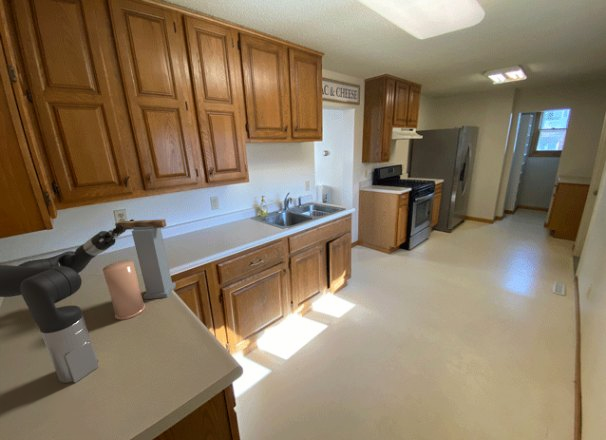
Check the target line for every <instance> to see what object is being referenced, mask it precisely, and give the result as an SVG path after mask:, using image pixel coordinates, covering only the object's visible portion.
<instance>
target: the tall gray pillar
mask: <svg viewBox="0 0 606 440" xmlns="http://www.w3.org/2000/svg"><path fill="white" fill-rule="evenodd" d="M131 234H132V239H133V242H134V246H135V251H136V255H137V259H138V263H139V268H140V271H141V276H142V279H143V280H142V281H143V283H144V288H145V291H146V292H145V293H144V294H143V295H142V297H143V298H144V299H143V300H149V299H150V300H152V299H163V298H168V297H169V296H170V294H171V293H172V292H173V290H174V289H175V288H176V286H177V285H176V281H174V282H173V280H172V276H171V270H170V267H169V261H168V257H167V252H166V251H167V250H166V247H165V243H164V239H163V238H164V237H163V233H162V228H153V226H148V227H134V228H133V229H132V230H131Z"/></svg>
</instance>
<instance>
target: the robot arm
mask: <svg viewBox="0 0 606 440" xmlns="http://www.w3.org/2000/svg"><path fill="white" fill-rule="evenodd" d="M129 221H135V219H134V218H133V219H130V220H129ZM123 229H124V227H123V226H122V225H119V226H117V227H116V226H115V228H112V229H110V230H108V231H107V230H101V231H99V232H98V233H96V234H95V235H94V236H92V237H91V238H89V239H88V240H86V241H85V243H83V244H82V245H80V246H79V247H77V248H76V249H75V251H74V250H68V251H65V252H63V253H60V254H57V255H54V256H50V257H48V258H41V259H33V260H28V261H24V262H23V263H20V264H18V265H11V264H10V265H9V264H0V298H9V297H10V298H12V297H18V296H22V298H23V301H24V302H25V304H26V306H27V308H28V310H29V312H30V314H31V317H32V319H33V321H34V323H35V324H36V326H37V327H38V329H39V332H40V334H41V337H42V340H43V342H44V346H45V347H46V350H47V352H48V355H49V358H50V361H51V362H52V363H51V364H53V365H52V366H53V367H54V370H55V373H56V375H57V377H58V381H59V382H61V383H65V384H66V383H68V384H69V383H77V382H79V381H80V380H81V379H83V378H84V377H86V376H88V375H89V374H90V373H92V372H93V371H95V370H96V369H98V368H99V364H98V363H99V360H98V357H97V354H96V351H95V348H94V345H93V342H92V340H91V336H90V333H89V330H88V326H87V324H86V321H85V317H84V315H83V311H82V308H80V306H79V305H65V306H60V307H56V305H55V304H57V303H59V302H60V301H63V300H65V299H66V298H69V297H71V296H72V295H74V294H76V292H78V291H79V290H80V289H81V286H82V284H83V283H82V282H83V281H82V277H81V275H80V274H79V273H81V272H82V271H83V270H84V269H86V267H87V266H88V265H89V263H90V262H91V261H92V260H93V259H95V257H97V256H99V255H100V254H102V253H103V252H105V251H107V250H108V249H109V248H111V247H112V246H114V245H115V244H116V239H117V238H119V237H120V236H121V235H122V234H124V233H125V232H126V231H127V230H123Z"/></svg>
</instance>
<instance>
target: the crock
mask: <svg viewBox="0 0 606 440" xmlns="http://www.w3.org/2000/svg"><path fill="white" fill-rule="evenodd" d="M102 272H103V275H104V279H105V283H106V286H107V289H108V293H109V296H110V300H111V303H112V308H113V311H114V317H115V319H116V320H120V321H123V320H124V321H125V320H129V319H133V318H135V317H137V316H139V315H141V314H142V313H144V311H145V310H146V304H145V302H144V299H143V295H142V292H141V291H142V290H141V287H140V283H139V280H138V275H137V272H136V268H135V262H134V261H133V260H128V259H127V260H120V261H119V260H118V261H116V262H112V263H109V264H107V265H106V266H104V267H103V268H102Z"/></svg>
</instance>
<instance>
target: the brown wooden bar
mask: <svg viewBox="0 0 606 440" xmlns="http://www.w3.org/2000/svg"><path fill="white" fill-rule="evenodd" d="M114 225H115V228H116V227H117V226H119V225H122V226H123V227H124V229H123V230H126V231H127V230H129V231H130V230H133V228H134V227H148V226H153V228H161V229H163V228H165V227H167V222H166V219H165V218H164V219H162V218H161V219H148V220H147V219H145V220H143V219H141V220H134V221H130V220H124V221H123V220H122V221H118V222H115V223H114Z"/></svg>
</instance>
